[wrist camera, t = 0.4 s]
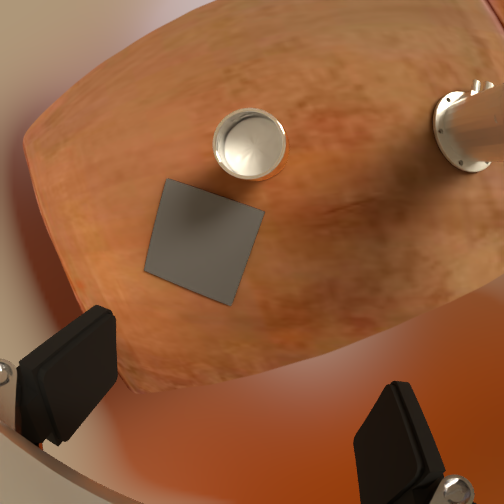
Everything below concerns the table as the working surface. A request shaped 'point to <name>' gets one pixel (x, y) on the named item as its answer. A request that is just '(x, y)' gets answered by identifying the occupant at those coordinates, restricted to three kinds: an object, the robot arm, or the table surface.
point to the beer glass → (251, 144)
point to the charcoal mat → (202, 240)
